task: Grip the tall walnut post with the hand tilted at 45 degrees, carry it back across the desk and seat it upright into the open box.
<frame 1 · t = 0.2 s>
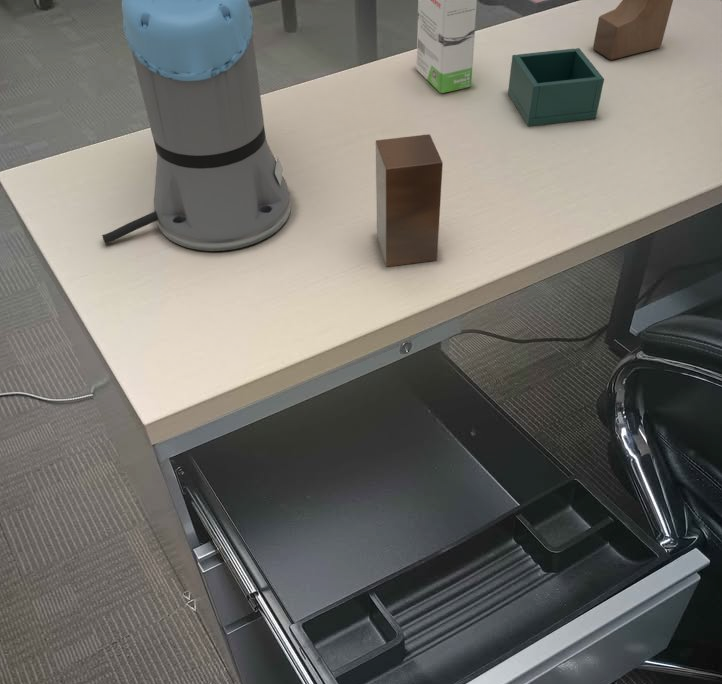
open box: (550, 106, 101), on the table
wooden block: (626, 50, 111), on the table
post: (406, 248, 82), on the table
ink box: (442, 79, 107), on the table
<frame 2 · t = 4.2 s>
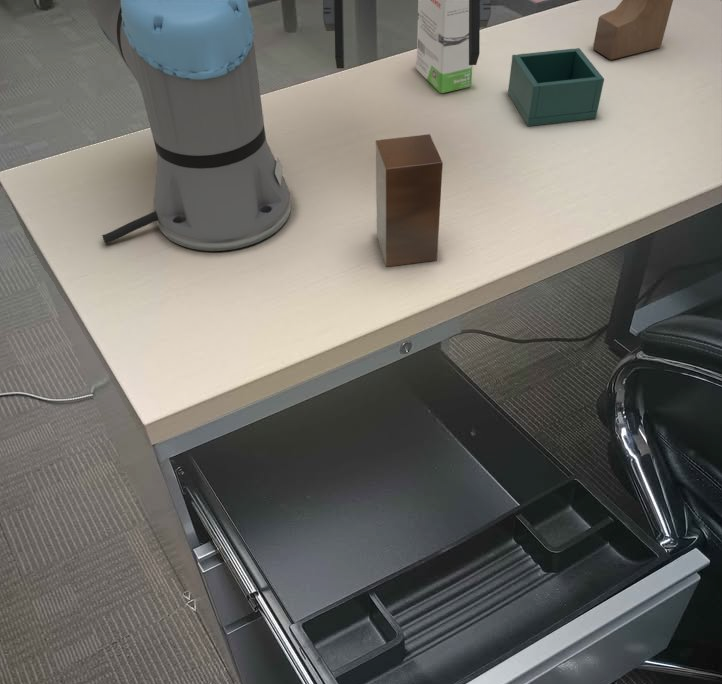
hand: (406, 61, 77), 15 cm above the table, tool tilted 45°, fingers open, 13 cm apart
nothing on the table moved.
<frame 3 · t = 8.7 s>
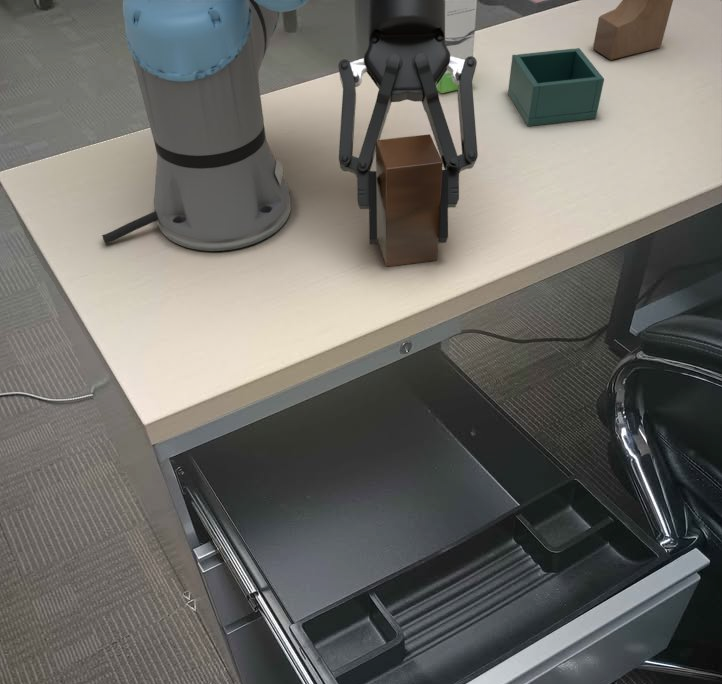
hand: (408, 240, 77), 3 cm above the table, tool tilted 45°, fingers closed on post, 6 cm apart
post: (406, 248, 82), on the table, touching gripper
everything else where it was.
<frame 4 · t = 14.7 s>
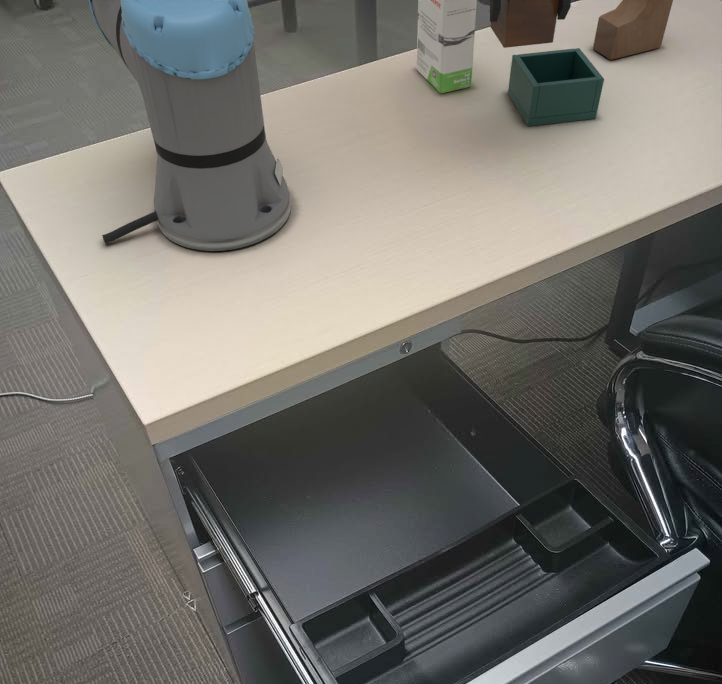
hand: (529, 14, 79), 17 cm above the table, tool tilted 45°, fingers closed on post, 6 cm apart
post: (521, 35, 84), point 13 cm above the table, touching gripper
everything else where it was.
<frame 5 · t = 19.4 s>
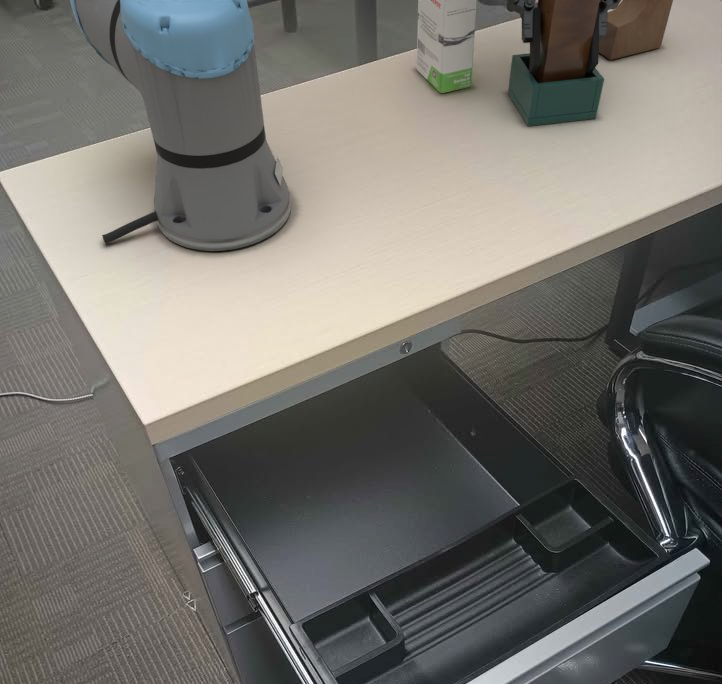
hand: (563, 68, 94), 6 cm above the table, tool tilted 45°, fingers closed on post, 6 cm apart
post: (554, 83, 98), point 3 cm above the table, touching gripper
everything else where it was.
when the fingers open (6 cm above the table, at t = 20.7 s): post drops 2 cm, resting on open box.
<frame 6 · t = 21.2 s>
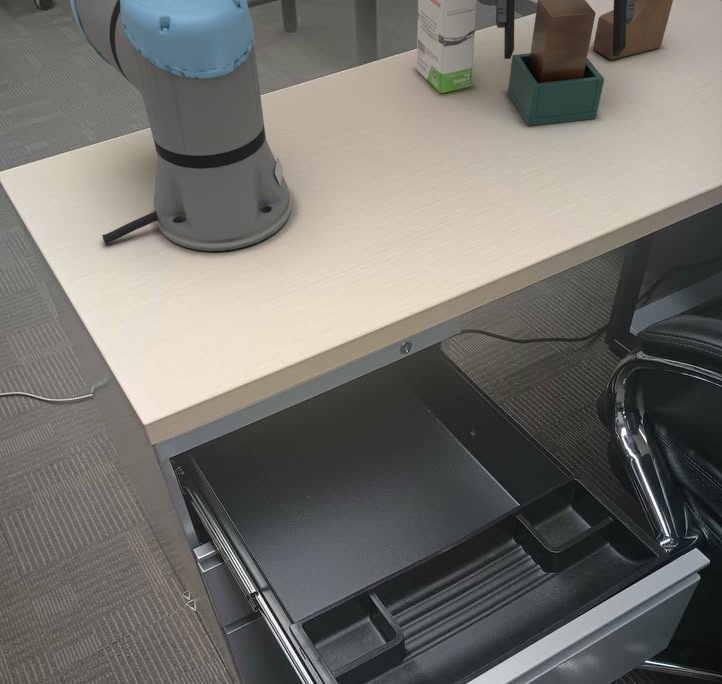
hand: (563, 53, 93), 8 cm above the table, tool tilted 45°, fingers open, 13 cm apart
post: (551, 98, 100), point 1 cm above the table, touching open box
everything else where it was.
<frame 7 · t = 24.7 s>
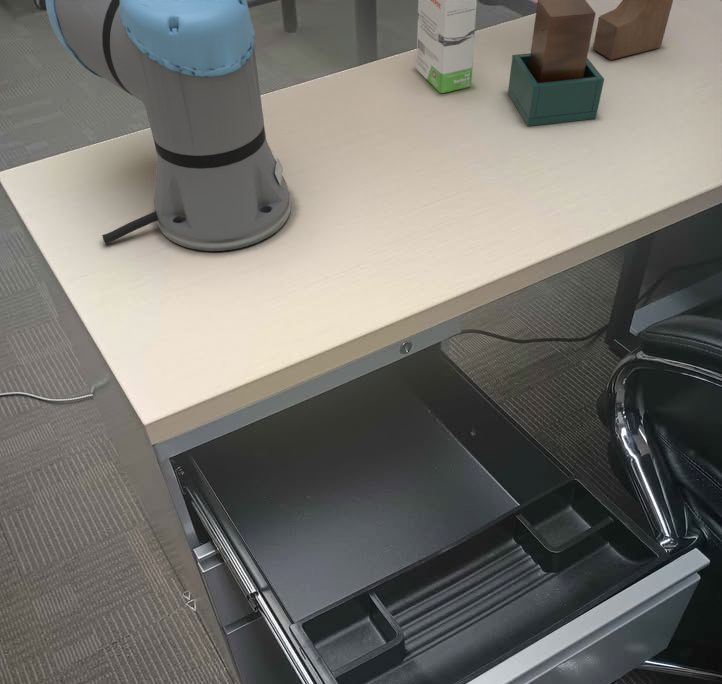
nothing on the table moved.
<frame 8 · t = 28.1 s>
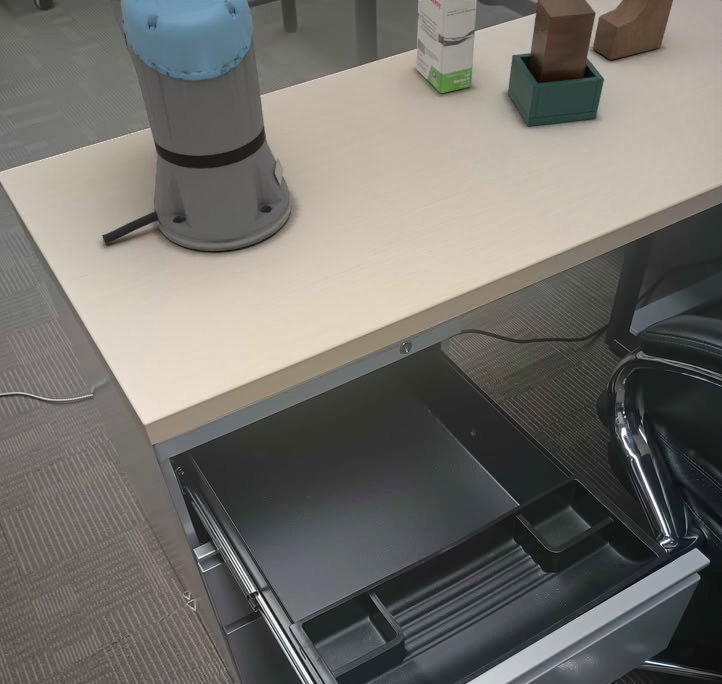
nothing on the table moved.
at the end: post 0.1 cm off-centre in the open box, point 1.0 cm above the open box's base; post tilted 0°; the gripper is holding nothing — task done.
